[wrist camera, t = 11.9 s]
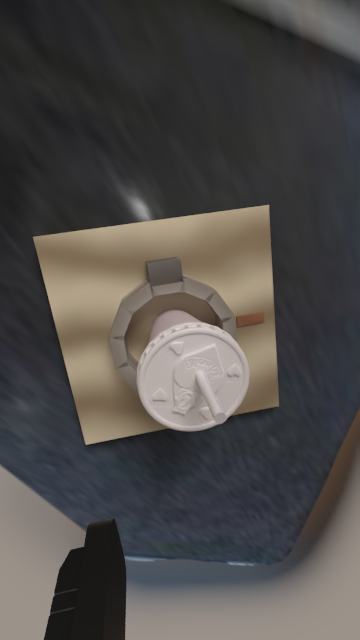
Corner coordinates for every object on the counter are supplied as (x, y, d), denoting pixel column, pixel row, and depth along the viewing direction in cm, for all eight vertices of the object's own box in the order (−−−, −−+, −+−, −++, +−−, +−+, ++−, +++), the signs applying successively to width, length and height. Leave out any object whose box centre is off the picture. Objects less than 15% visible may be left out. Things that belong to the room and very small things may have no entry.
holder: (37, 236, 25) (21, 237, 21) (262, 205, 27) (283, 202, 23) (87, 436, 30) (81, 464, 26) (273, 399, 32) (291, 420, 28)
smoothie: (224, 311, 27) (312, 390, 14) (190, 376, 28) (242, 506, 15) (154, 279, 26) (179, 333, 12) (122, 349, 27) (112, 468, 14)
